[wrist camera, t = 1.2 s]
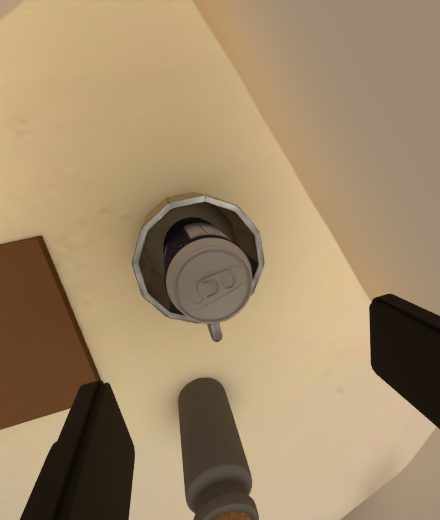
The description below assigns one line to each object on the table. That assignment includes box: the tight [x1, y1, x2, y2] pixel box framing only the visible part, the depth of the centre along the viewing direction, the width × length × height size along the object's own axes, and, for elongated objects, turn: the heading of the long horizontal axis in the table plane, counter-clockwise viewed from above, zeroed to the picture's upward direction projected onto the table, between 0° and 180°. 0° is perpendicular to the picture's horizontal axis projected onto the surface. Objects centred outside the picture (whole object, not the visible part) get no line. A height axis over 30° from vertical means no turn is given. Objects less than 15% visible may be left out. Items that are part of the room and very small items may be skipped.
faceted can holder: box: [132, 192, 264, 342], centre depth 24 cm, size 13×10×7 cm
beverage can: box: [164, 218, 253, 324], centre depth 21 cm, size 6×6×12 cm
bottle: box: [178, 378, 259, 520], centre depth 25 cm, size 6×6×15 cm
